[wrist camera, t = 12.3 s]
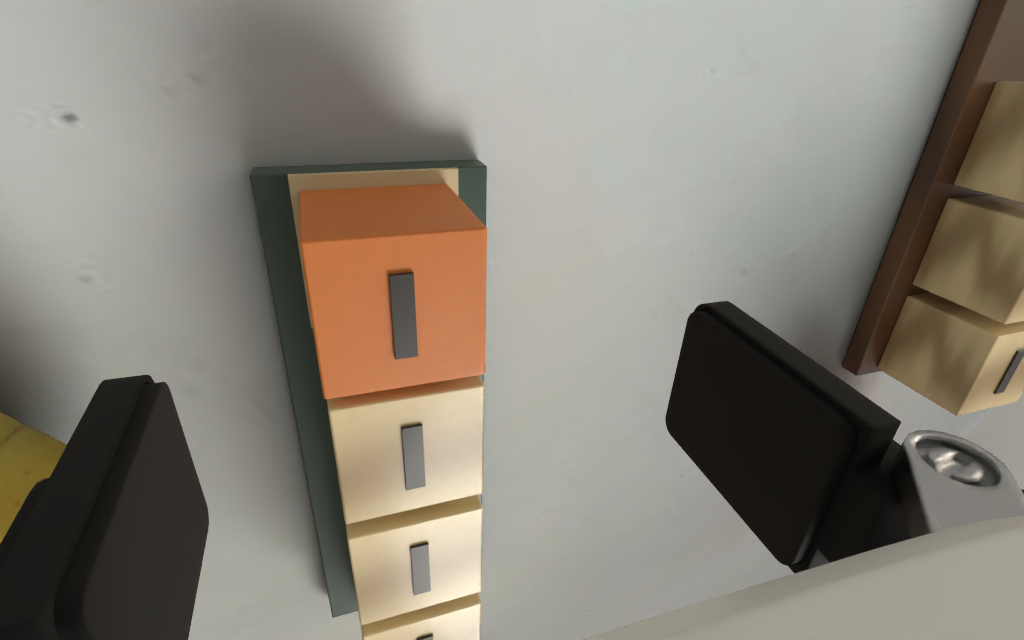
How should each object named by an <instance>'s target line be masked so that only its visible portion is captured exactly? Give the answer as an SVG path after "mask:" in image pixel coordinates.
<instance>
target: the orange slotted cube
mask: <svg viewBox="0 0 1024 640" xmlns="http://www.w3.org/2000/svg"><path fill="white" fill-rule="evenodd" d="M299 228H300V248H301V255H302V261H303V268H304V274H305V281H306V287H307V294H308V300H309V307H310V313H311V320H312V326H313V333H314V339H315V346H316V352H317V358H318V365H319V371H320V378H321V384H322V391H323V397H324V398H325V399H332V398H338V397H345V396H351V395H357V394H363V393H370V392H376V391H382V390H388V389H395V388H401V387H407V386H414V385H420V384H426V383H432V382H439V381H445V380H451V379H457V378H464V377H470V376H476V375H482V374H484V372H485V318H486V252H487V228H486V227H485V225H484V224H483V223H482V222H481V221H480V220H479V219H478V218H477V217H476V215H475V214H474V213H473V212H472V211H471V210H470V209H469V208H468V207H467V206H466V204H465V203H464V202H463V201H462V200H461V199H460V198H459V197H458V196H457V195H456V193H455V192H454V191H453V190H452V189H451V188H450V187H449V186H448V185H447V184H427V185H407V186H387V187H366V188H346V189H326V190H305V191H300V192H299Z"/></svg>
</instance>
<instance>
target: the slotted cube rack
mask: <svg viewBox="0 0 1024 640" xmlns="http://www.w3.org/2000/svg"><path fill="white" fill-rule="evenodd" d="M250 179H251V184H252V190H253V195H254V200H255V206H256V211H257V216H258V222H259V227H260V232H261V238H262V243H263V248H264V254H265V259H266V264H267V270H268V275H269V280H270V286H271V291H272V296H273V302H274V307H275V312H276V318H277V323H278V328H279V334H280V339H281V345H282V350H283V355H284V361H285V366H286V371H287V377H288V382H289V387H290V393H291V398H292V403H293V409H294V414H295V419H296V425H297V430H298V435H299V441H300V446H301V451H302V457H303V462H304V467H305V473H306V478H307V483H308V489H309V494H310V499H311V505H312V510H313V516H314V521H315V526H316V532H317V537H318V542H319V548H320V553H321V558H322V564H323V569H324V574H325V580H326V585H327V590H328V596H329V601H330V606H331V612H332V617H337V616H340V615H344V614H348V613H351V612H355V611H358V613H359V619H360V624H361V631H362V639H363V640H480V620H481V601H480V598H479V595H478V592H480V591H481V569H482V492H483V435H484V384H483V382H484V374H482V375H476V376H470V377H464V378H457V379H451V380H445V381H439V382H432V383H426V384H420V385H414V386H407V387H401V388H395V389H388V390H382V391H376V392H370V393H363V394H357V395H351V396H345V397H338V398H332V399H325V398H324V397H323V391H322V384H321V378H320V371H319V365H318V358H317V352H316V346H315V339H314V333H313V326H312V320H311V313H310V307H309V300H308V294H307V287H306V281H305V274H304V268H303V261H302V255H301V248H300V228H299V192H300V191H305V190H326V189H346V188H366V187H387V186H407V185H427V184H447V185H448V186H449V187H450V188H451V189H452V190H453V191H454V192H455V193H456V195H457V196H458V197H459V198H460V199H461V200H462V201H463V202H464V203H465V204H466V206H467V207H468V208H469V209H470V210H471V211H472V212H473V213H474V214H475V215H476V217H477V218H478V219H479V220H480V221H481V222H482V223H483V224H484V225H485V227H486V180H487V167H486V166H485V165H484V164H483V163H482V162H480V161H479V160H454V161H426V162H398V163H370V164H342V165H314V166H286V167H257V168H252V172H251V175H250Z"/></svg>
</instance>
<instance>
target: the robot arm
mask: <svg viewBox="0 0 1024 640" xmlns="http://www.w3.org/2000/svg"><path fill="white" fill-rule="evenodd" d="M900 423H901V421H899V420H898V419H896V418H895V417H894V416H892V415H891V414H889V413H888V412H886V411H885V410H884V409H882V408H881V407H879V406H878V405H876V404H875V403H874V402H872V401H871V400H869V399H868V398H866V397H865V396H864V395H862V394H861V393H859V392H858V391H856V390H855V389H854V388H852V387H851V386H849V385H848V384H846V383H845V382H844V381H842V380H841V379H839V378H838V377H836V376H835V375H834V374H832V373H831V372H829V371H828V370H826V369H825V368H824V367H822V366H821V365H819V364H818V363H816V362H815V361H813V360H812V359H811V358H809V357H808V356H806V355H805V354H803V353H802V352H801V351H799V350H798V349H796V348H795V347H793V346H792V345H791V344H789V343H788V342H786V341H785V340H783V339H782V338H781V337H779V336H778V335H776V334H775V333H773V332H772V331H771V330H769V329H768V328H766V327H765V326H763V325H762V324H761V323H759V322H758V321H756V320H755V319H753V318H752V317H751V316H749V315H748V314H746V313H745V312H743V311H742V310H741V309H739V308H738V307H736V306H735V305H733V304H732V303H730V302H728V301H722V302H714V303H707V304H701V305H699V306H697V308H696V309H695V310H694V312H693V313H691V314H690V316H689V318H688V320H687V325H686V329H685V334H684V338H683V343H682V347H681V351H680V356H679V360H678V365H677V369H676V373H675V378H674V382H673V387H672V391H671V395H670V400H669V404H668V409H667V413H666V426H667V429H668V431H669V433H670V435H671V436H672V437H673V438H674V439H675V441H676V442H677V443H678V444H679V445H680V446H681V448H682V449H683V450H684V451H685V452H686V454H687V455H688V456H689V457H690V458H691V459H692V461H693V462H694V463H695V464H696V465H697V466H698V468H699V469H700V470H701V471H702V472H703V473H704V475H705V476H706V477H707V478H708V479H709V481H710V482H711V483H712V484H713V485H714V486H715V488H716V489H717V490H718V491H719V492H720V493H721V495H722V496H723V497H724V498H725V499H726V501H727V502H728V503H729V504H730V505H731V506H732V508H733V509H734V510H735V511H736V512H737V513H738V515H739V516H740V517H741V518H742V519H743V520H744V522H745V523H746V524H747V525H748V526H749V528H750V529H751V530H752V531H753V532H754V533H755V535H756V536H757V537H758V538H759V539H760V540H761V542H762V543H763V544H764V545H765V546H766V548H767V549H768V550H769V551H770V552H771V553H772V555H773V556H774V557H775V558H776V559H777V560H778V561H779V562H780V563H782V564H784V565H788V566H789V568H790V569H791V570H792V571H793V572H794V573H795V574H792V575H789V576H785V577H782V578H779V579H776V580H772V581H769V582H766V583H763V584H759V585H756V586H753V587H749V588H746V589H743V590H740V591H737V592H733V593H730V594H727V595H724V596H721V597H717V598H714V599H711V600H708V601H705V602H702V603H698V604H695V605H692V606H689V607H686V608H682V609H679V610H676V611H673V612H670V613H666V614H663V615H660V616H657V617H654V618H650V619H647V620H644V621H641V622H638V623H635V624H631V625H628V626H625V627H622V628H619V629H616V630H612V631H609V632H606V633H603V634H600V635H597V636H593V637H590V638H587V639H584V640H1024V490H1022V489H1020V487H1019V485H1018V483H1017V481H1016V480H1015V478H1014V476H1013V474H1012V473H1011V472H1010V470H1009V469H1008V468H1007V467H1006V465H1005V464H1004V463H1003V462H1001V461H1000V460H999V459H998V458H997V457H996V456H994V455H993V454H992V453H990V452H988V451H987V450H985V449H983V448H982V447H980V446H979V445H976V444H974V443H972V442H970V441H968V440H965V439H963V438H961V437H958V436H954V435H951V434H948V433H945V432H938V431H932V430H918V431H915V432H912V433H909V434H908V436H907V437H906V438H905V439H904V441H903V443H902V445H900V444H898V443H897V442H895V441H894V440H893V438H894V435H895V433H896V431H897V429H898V427H899V425H900ZM208 526H209V516H208V508H207V504H206V501H205V498H204V495H203V492H202V489H201V486H200V482H199V479H198V476H197V473H196V470H195V467H194V464H193V461H192V457H191V454H190V451H189V448H188V445H187V442H186V439H185V436H184V433H183V429H182V426H181V423H180V420H179V417H178V414H177V411H176V408H175V404H174V401H173V398H172V395H171V392H170V389H169V387H168V385H167V384H166V383H165V382H160V383H154V381H153V379H152V378H151V376H149V375H141V376H133V377H125V378H117V379H109V380H104V381H102V382H101V384H100V385H99V387H98V389H97V390H96V392H95V394H94V396H93V398H92V400H91V402H90V403H89V405H88V407H87V409H86V411H85V413H84V415H83V416H82V418H81V420H80V422H79V424H78V426H77V428H76V429H75V431H74V433H73V435H72V437H71V439H70V441H69V442H68V444H67V446H66V448H65V450H64V452H63V454H62V455H61V457H60V459H59V461H58V463H57V465H56V467H55V468H54V470H53V472H52V474H51V476H50V478H46V479H43V480H41V481H39V482H38V483H36V484H35V486H34V487H33V488H32V490H31V491H30V492H29V494H28V496H27V497H26V499H25V501H24V503H23V504H22V506H21V508H20V510H19V512H18V513H17V515H16V517H15V519H14V520H13V522H12V524H11V526H10V528H9V529H8V531H7V533H6V535H5V536H4V538H3V540H2V542H1V544H0V640H188V637H189V631H190V626H191V620H192V615H193V609H194V604H195V599H196V593H197V588H198V582H199V577H200V571H201V566H202V560H203V555H204V549H205V544H206V538H207V533H208Z"/></svg>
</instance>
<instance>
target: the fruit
mask: <svg viewBox="0 0 1024 640" xmlns="http://www.w3.org/2000/svg"><path fill="white" fill-rule="evenodd" d="M66 446H67V445H66V444H64V443H62V442H60V441H58V440H56V439H54V438H52V437H51V436H49V435H46V434H44V433H42V432H39V431H37V430H35V429H32V428H30V427H28V426H26V425H24V424H22V423H20V422H18V421H17V420H15V419H13V418H11V417H10V416H8V415H5V414H3V413H1V412H0V544H1V542H2V540H3V538H4V536H5V535H6V533H7V531H8V529H9V528H10V526H11V524H12V522H13V520H14V519H15V517H16V515H17V513H18V512H19V510H20V508H21V506H22V504H23V503H24V501H25V499H26V497H27V496H28V494H29V492H30V491H31V490H32V488H33V487H34V486H35V484H36V483H38V482H39V481H41V480H43V479H46V478H50V476H51V474H52V472H53V470H54V468H55V467H56V465H57V463H58V461H59V459H60V457H61V455H62V454H63V452H64V450H65V448H66Z"/></svg>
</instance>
